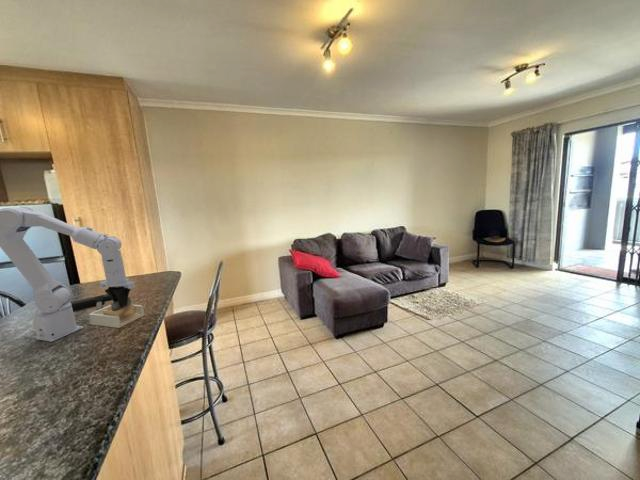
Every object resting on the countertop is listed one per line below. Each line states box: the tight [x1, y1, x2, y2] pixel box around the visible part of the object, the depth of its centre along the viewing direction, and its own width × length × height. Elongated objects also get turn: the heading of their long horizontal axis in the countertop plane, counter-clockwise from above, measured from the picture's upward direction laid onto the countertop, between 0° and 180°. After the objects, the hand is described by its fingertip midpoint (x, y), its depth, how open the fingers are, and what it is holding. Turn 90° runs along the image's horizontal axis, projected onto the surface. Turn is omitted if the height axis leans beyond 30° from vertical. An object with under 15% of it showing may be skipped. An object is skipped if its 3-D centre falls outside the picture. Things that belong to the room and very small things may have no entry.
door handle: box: [70, 293, 113, 313], centre depth 115 cm, size 3×20×16 cm
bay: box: [87, 304, 145, 329], centre depth 101 cm, size 10×14×4 cm
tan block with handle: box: [103, 296, 135, 321], centre depth 100 cm, size 7×6×7 cm
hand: (121, 305), depth 99 cm, fingers closed on tan block with handle, 2 cm apart
